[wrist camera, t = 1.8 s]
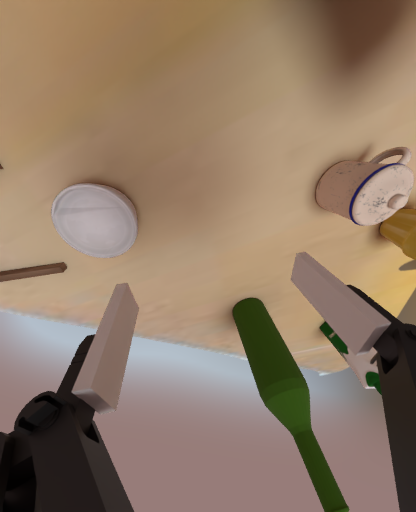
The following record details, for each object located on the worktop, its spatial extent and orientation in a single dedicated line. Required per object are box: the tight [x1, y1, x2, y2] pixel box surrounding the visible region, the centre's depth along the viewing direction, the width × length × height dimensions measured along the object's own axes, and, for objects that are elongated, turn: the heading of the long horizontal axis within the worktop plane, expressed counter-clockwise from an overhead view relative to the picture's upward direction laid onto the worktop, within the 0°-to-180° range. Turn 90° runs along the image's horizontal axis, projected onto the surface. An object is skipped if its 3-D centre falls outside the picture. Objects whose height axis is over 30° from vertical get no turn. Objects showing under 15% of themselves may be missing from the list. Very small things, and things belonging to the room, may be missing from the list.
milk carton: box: [320, 322, 382, 395], centre depth 51 cm, size 9×9×20 cm
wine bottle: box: [233, 298, 349, 512], centre depth 35 cm, size 9×9×32 cm
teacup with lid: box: [316, 147, 414, 226], centre depth 28 cm, size 12×9×12 cm
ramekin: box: [51, 183, 138, 258], centre depth 28 cm, size 11×11×5 cm
